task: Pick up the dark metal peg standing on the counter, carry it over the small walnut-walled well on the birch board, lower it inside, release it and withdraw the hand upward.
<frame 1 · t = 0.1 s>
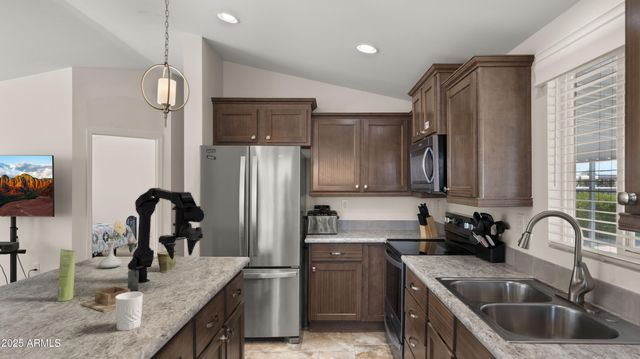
hand: (181, 257, 146), 15 cm above the counter, fingers open, 9 cm apart
ceramic cup: (168, 270, 181), on the counter
white cup: (128, 327, 109), on the counter
tube: (65, 300, 133), on the counter
well: (112, 302, 131), on the counter
flower in vase: (112, 267, 187), on the counter
peg: (132, 292, 144), on the counter
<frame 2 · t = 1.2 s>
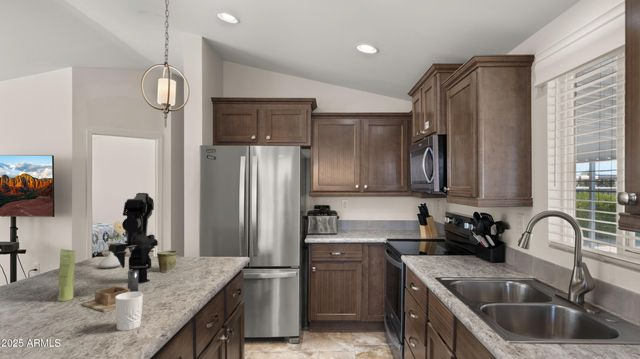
hand: (133, 265, 144), 11 cm above the counter, fingers open, 9 cm apart
nothing on the counter moved.
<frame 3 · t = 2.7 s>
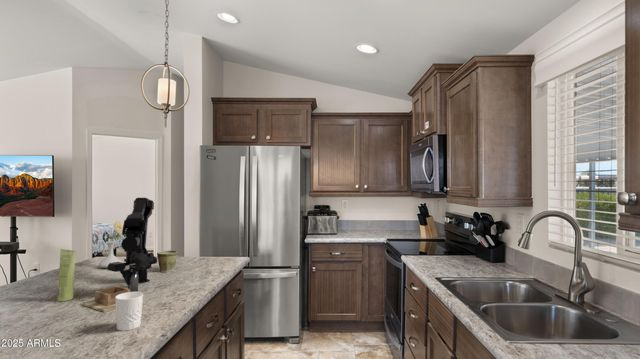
hand: (133, 283, 144), 4 cm above the counter, fingers closed on peg, 4 cm apart
peg: (132, 292, 144), on the counter, touching gripper
everything else where it was.
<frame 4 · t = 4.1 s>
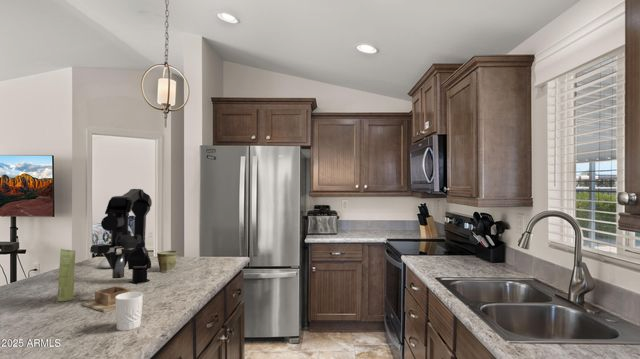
hand: (118, 268, 134), 13 cm above the counter, fingers closed on peg, 4 cm apart
peg: (118, 277, 134), point 9 cm above the counter, touching gripper
everything else where it was.
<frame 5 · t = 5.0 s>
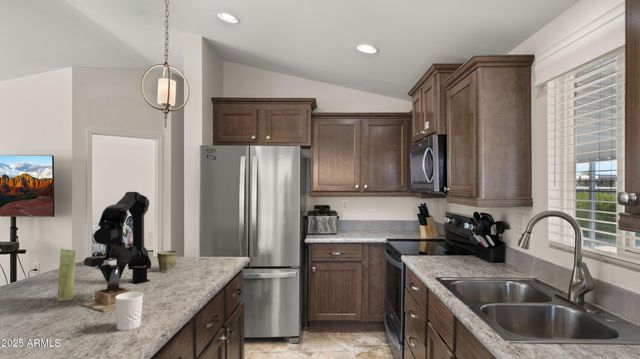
hand: (113, 280, 131), 9 cm above the counter, fingers closed on peg, 4 cm apart
peg: (113, 289, 131), point 5 cm above the counter, touching gripper
everything else where it was.
when the fingers open (6 cm above the counter, at t = 5.7 s): peg drops 2 cm, resting on well.
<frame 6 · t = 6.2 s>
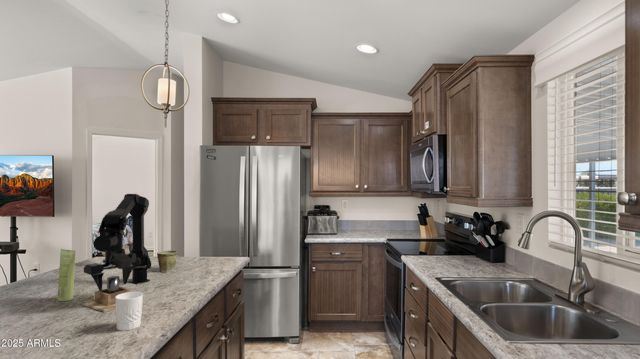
hand: (112, 287, 131), 6 cm above the counter, fingers open, 9 cm apart
peg: (112, 300, 131), point 1 cm above the counter, touching well
everything else where it was.
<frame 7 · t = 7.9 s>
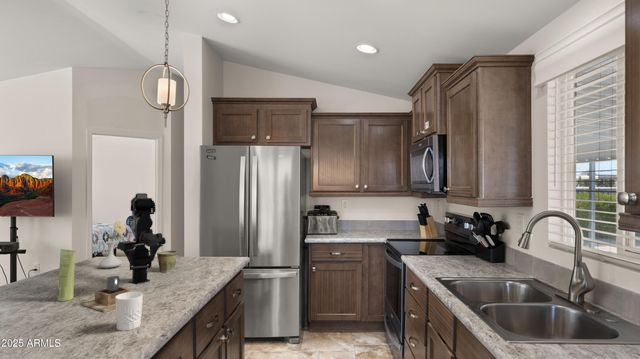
hand: (142, 262, 147), 12 cm above the counter, fingers open, 9 cm apart
nothing on the counter moved.
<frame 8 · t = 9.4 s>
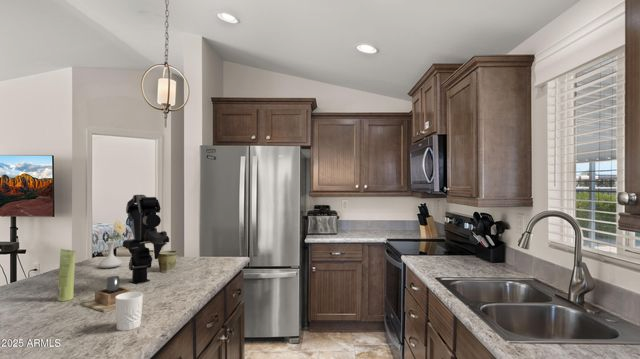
hand: (146, 261, 149), 12 cm above the counter, fingers open, 9 cm apart
nothing on the counter moved.
at the end: peg 0.0 cm off-centre on the well, point 0.8 cm above the well's base; peg tilted 0°; the gripper is holding nothing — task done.
